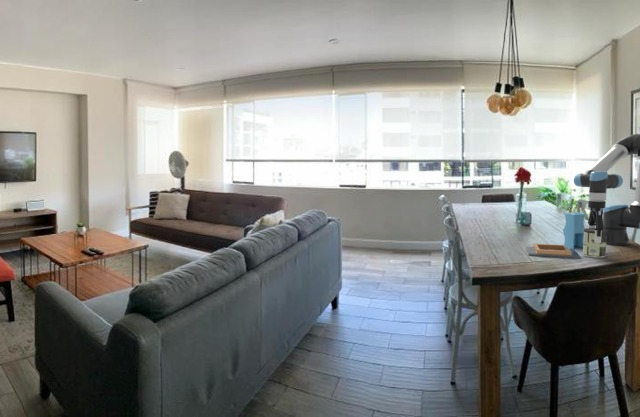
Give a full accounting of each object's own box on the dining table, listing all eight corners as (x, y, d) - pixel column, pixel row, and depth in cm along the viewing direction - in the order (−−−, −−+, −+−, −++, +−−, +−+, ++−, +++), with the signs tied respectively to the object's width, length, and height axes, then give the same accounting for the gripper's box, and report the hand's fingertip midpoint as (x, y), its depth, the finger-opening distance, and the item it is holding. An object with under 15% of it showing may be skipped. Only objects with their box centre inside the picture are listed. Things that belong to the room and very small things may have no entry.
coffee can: (599, 253, 218) (601, 228, 216) (609, 258, 208) (611, 231, 206) (579, 253, 220) (580, 227, 218) (587, 257, 210) (589, 231, 208)
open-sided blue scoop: (574, 245, 238) (575, 212, 235) (584, 247, 230) (586, 213, 227) (562, 246, 236) (563, 212, 234) (572, 248, 229) (574, 214, 226)
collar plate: (573, 250, 224) (573, 245, 224) (579, 258, 209) (580, 252, 208) (525, 248, 233) (525, 243, 233) (528, 255, 218) (528, 249, 217)
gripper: (583, 198, 223) (580, 235, 225) (594, 203, 200) (591, 244, 202) (599, 198, 220) (596, 236, 222) (612, 203, 197) (609, 245, 199)
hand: (594, 240), depth 212 cm, fingers open, 13 cm apart
